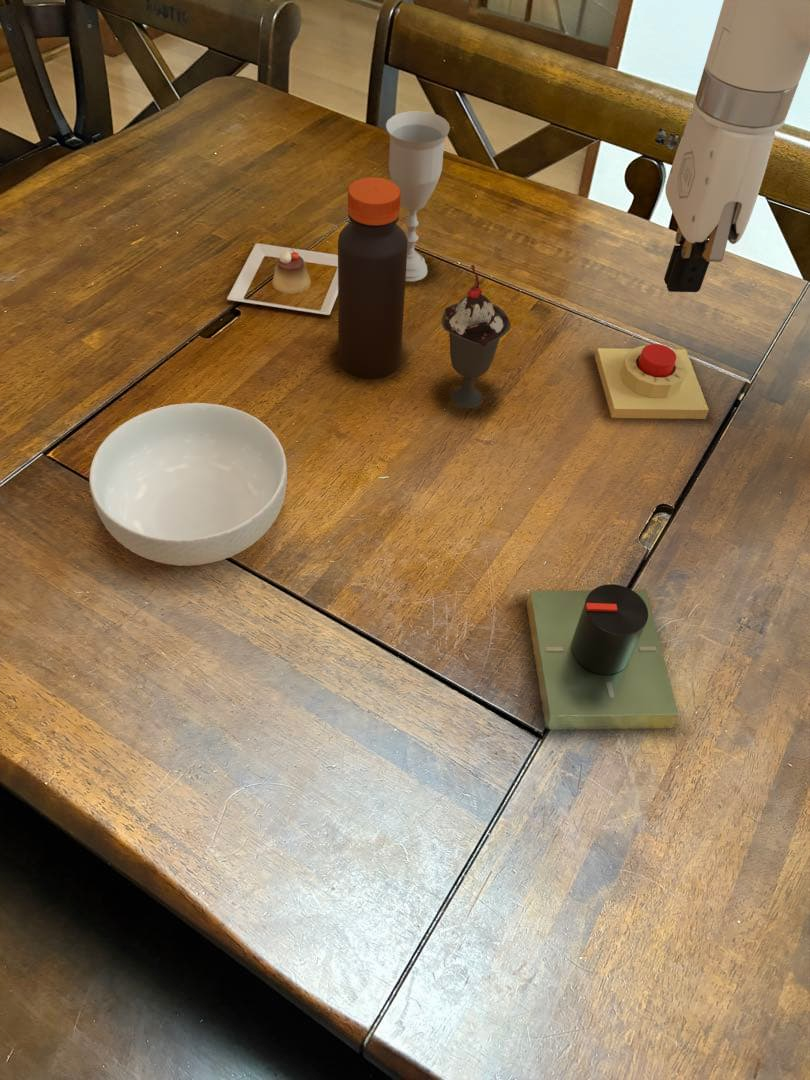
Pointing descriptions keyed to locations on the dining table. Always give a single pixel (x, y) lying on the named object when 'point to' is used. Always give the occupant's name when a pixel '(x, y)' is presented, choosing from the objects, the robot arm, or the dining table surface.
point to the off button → (657, 360)
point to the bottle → (371, 280)
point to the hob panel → (591, 696)
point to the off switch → (649, 387)
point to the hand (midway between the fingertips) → (681, 286)
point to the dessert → (286, 275)
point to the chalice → (416, 170)
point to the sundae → (473, 340)
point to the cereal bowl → (189, 483)
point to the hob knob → (609, 629)
